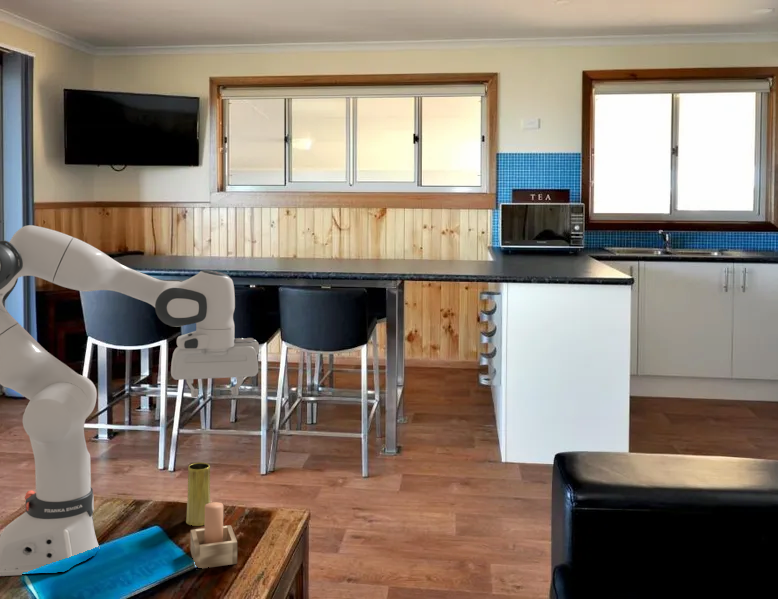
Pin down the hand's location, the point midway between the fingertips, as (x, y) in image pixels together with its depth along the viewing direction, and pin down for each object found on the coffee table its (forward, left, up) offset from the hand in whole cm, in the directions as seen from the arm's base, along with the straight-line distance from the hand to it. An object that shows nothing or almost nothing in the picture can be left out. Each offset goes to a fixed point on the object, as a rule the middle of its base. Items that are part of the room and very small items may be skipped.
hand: (214, 395), depth 172 cm
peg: (-2, -16, -33) cm, 37 cm away
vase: (-3, +5, -33) cm, 34 cm away
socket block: (-2, -15, -33) cm, 36 cm away
